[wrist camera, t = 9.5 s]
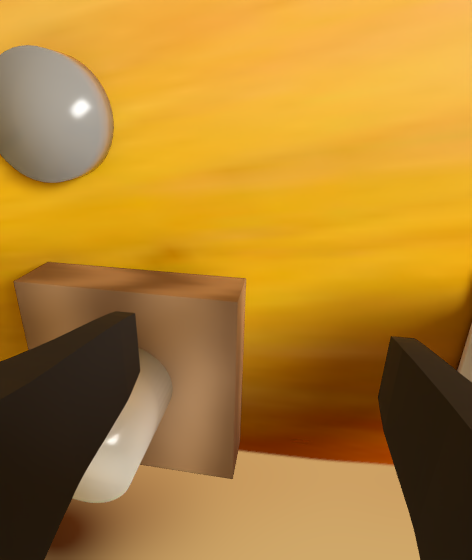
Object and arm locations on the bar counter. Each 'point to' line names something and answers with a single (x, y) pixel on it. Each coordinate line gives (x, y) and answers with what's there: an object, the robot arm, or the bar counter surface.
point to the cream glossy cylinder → (128, 435)
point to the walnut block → (160, 347)
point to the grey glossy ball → (52, 115)
